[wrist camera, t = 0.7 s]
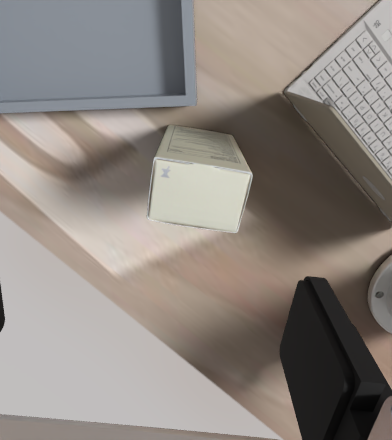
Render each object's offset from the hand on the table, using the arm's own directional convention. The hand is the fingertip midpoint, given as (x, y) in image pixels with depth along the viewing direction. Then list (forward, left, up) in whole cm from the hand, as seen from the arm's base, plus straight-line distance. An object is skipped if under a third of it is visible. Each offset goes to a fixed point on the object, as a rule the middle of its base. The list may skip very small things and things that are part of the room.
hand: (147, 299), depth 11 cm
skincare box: (-1, +1, -24) cm, 24 cm away
